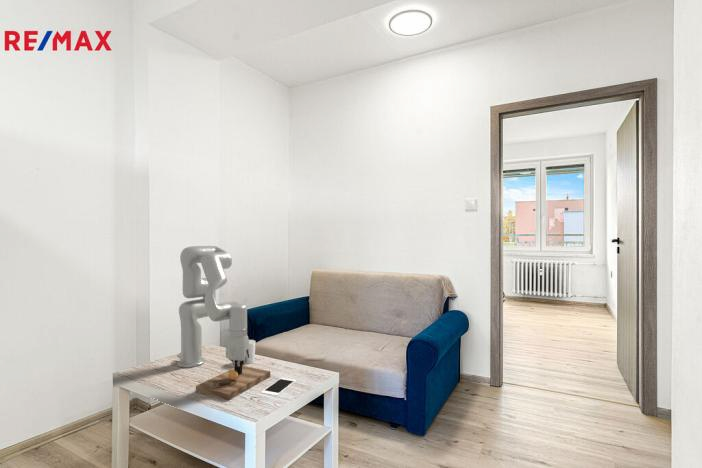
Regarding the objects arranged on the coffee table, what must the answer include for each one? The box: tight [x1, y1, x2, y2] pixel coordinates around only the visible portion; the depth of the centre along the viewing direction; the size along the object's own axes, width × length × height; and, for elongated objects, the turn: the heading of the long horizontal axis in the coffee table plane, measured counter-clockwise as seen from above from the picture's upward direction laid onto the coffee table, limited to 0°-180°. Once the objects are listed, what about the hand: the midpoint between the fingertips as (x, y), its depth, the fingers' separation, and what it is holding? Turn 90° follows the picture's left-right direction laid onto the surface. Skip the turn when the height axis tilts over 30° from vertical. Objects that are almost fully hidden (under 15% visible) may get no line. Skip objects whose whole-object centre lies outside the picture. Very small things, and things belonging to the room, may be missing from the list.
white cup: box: [243, 339, 256, 365], centre depth 184 cm, size 8×8×10 cm
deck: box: [195, 365, 271, 401], centre depth 156 cm, size 26×18×2 cm
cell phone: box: [260, 377, 297, 396], centre depth 154 cm, size 8×16×1 cm, turn 159°
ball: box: [228, 370, 238, 380], centre depth 155 cm, size 4×4×4 cm
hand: (238, 374), depth 158 cm, fingers closed
